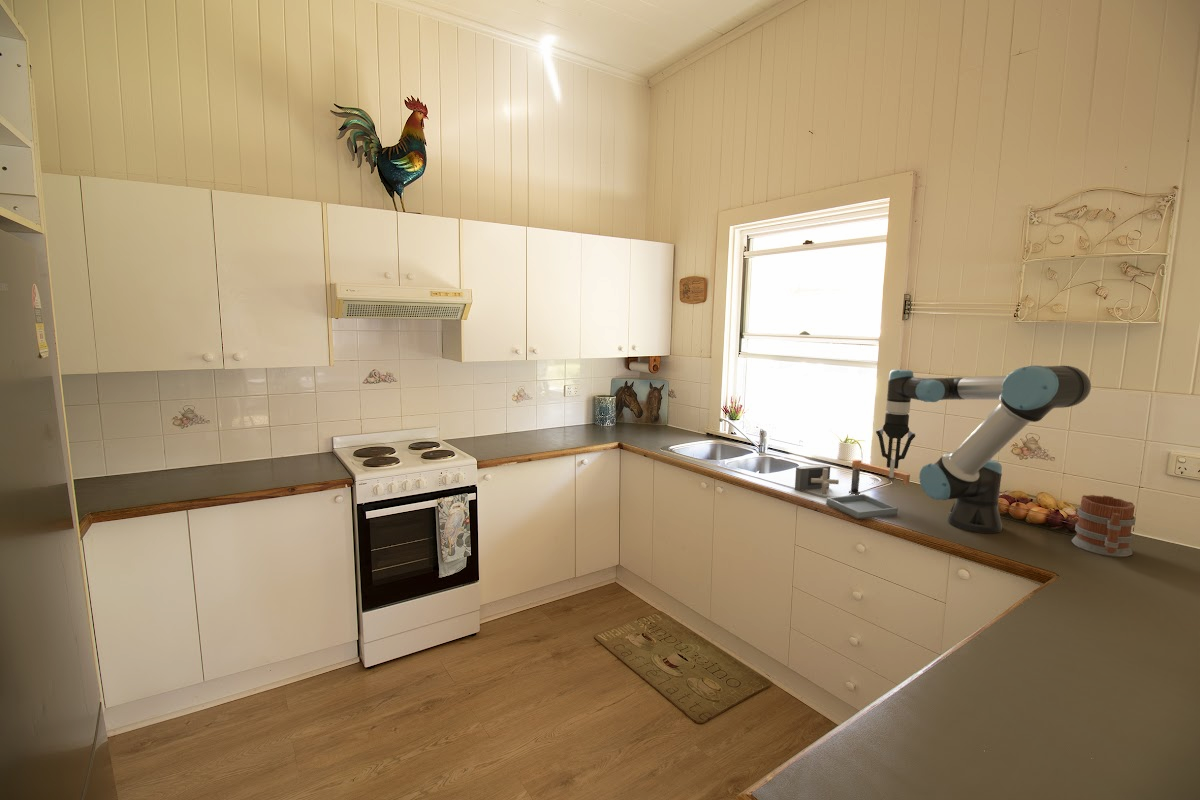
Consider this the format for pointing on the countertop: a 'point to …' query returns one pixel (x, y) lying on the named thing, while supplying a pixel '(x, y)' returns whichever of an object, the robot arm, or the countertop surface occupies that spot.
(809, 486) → the socket block
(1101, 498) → the mug
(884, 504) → the tray
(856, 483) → the post
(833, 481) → the pipe connector
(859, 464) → the tan bar handle
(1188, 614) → the countertop surface
